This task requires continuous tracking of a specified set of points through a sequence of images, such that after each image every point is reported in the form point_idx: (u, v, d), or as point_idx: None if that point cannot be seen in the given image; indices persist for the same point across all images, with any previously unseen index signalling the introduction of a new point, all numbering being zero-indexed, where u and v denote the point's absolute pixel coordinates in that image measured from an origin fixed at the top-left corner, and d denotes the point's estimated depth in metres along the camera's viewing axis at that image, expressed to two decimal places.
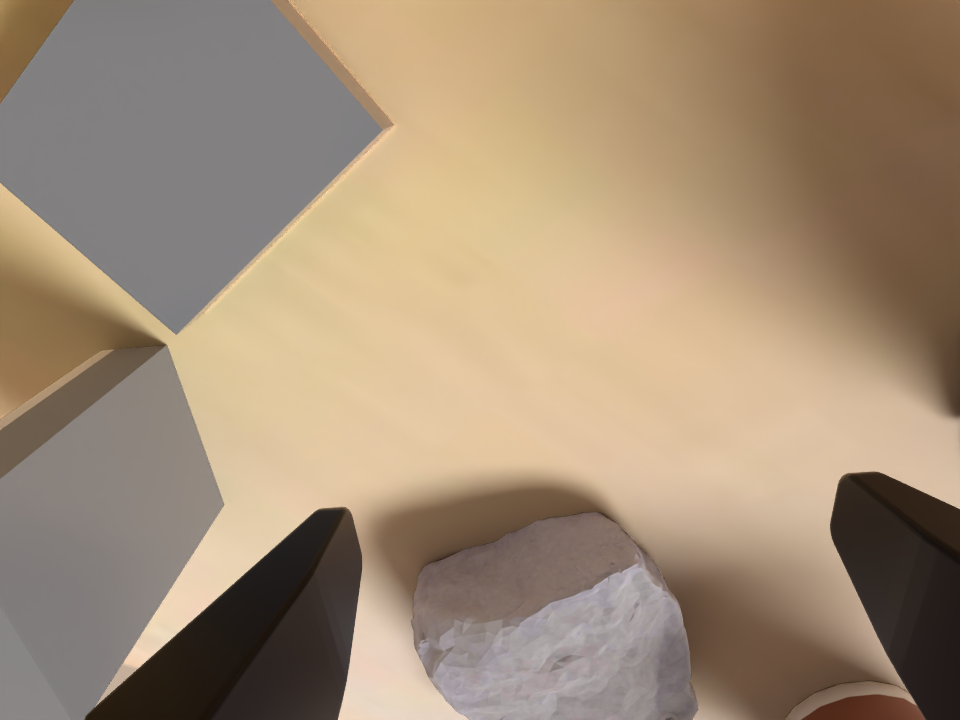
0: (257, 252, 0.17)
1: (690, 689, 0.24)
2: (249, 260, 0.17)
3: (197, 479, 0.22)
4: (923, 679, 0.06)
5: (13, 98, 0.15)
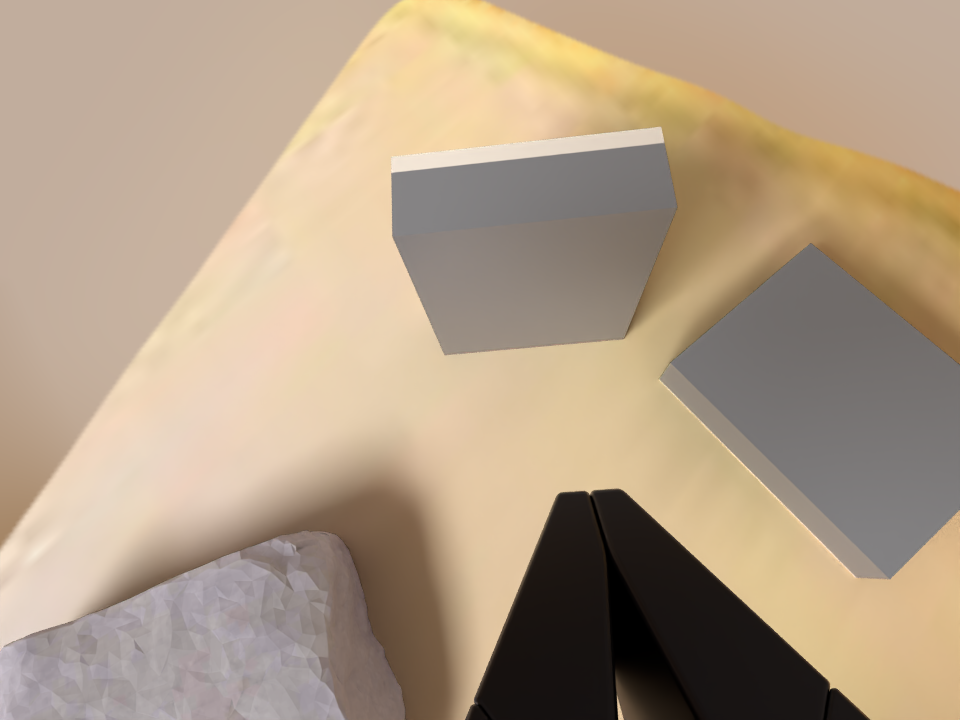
0: (759, 449, 0.19)
1: None
2: (750, 440, 0.19)
3: (493, 341, 0.22)
4: (622, 693, 0.06)
5: (858, 287, 0.20)
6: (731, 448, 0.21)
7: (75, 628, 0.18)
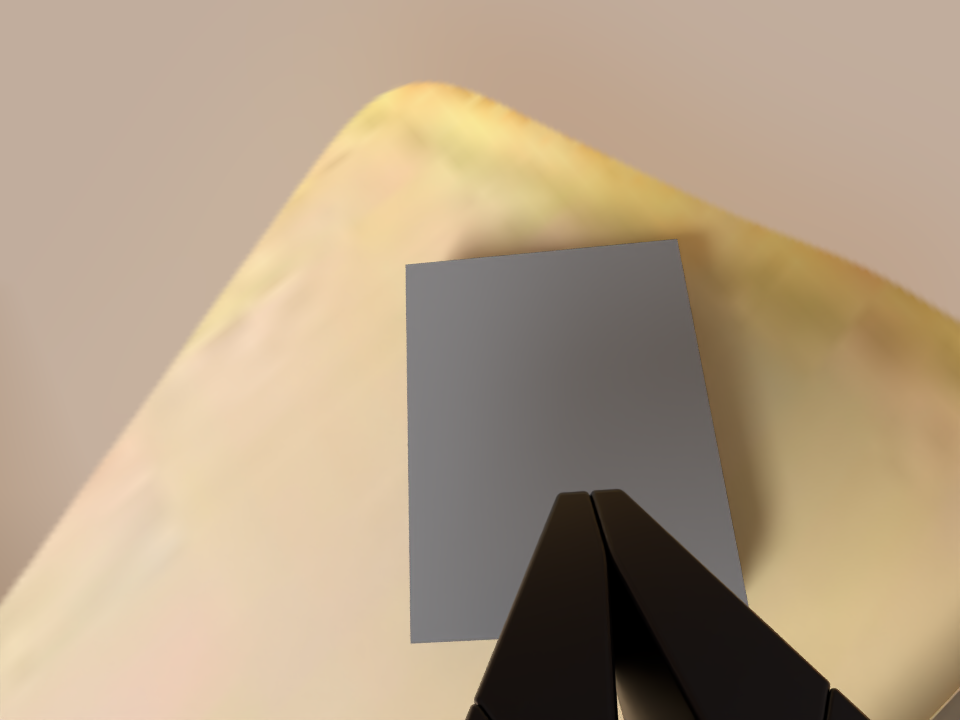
0: None
1: None
2: None
3: (502, 587, 0.12)
4: (623, 693, 0.06)
5: None
6: None
7: None
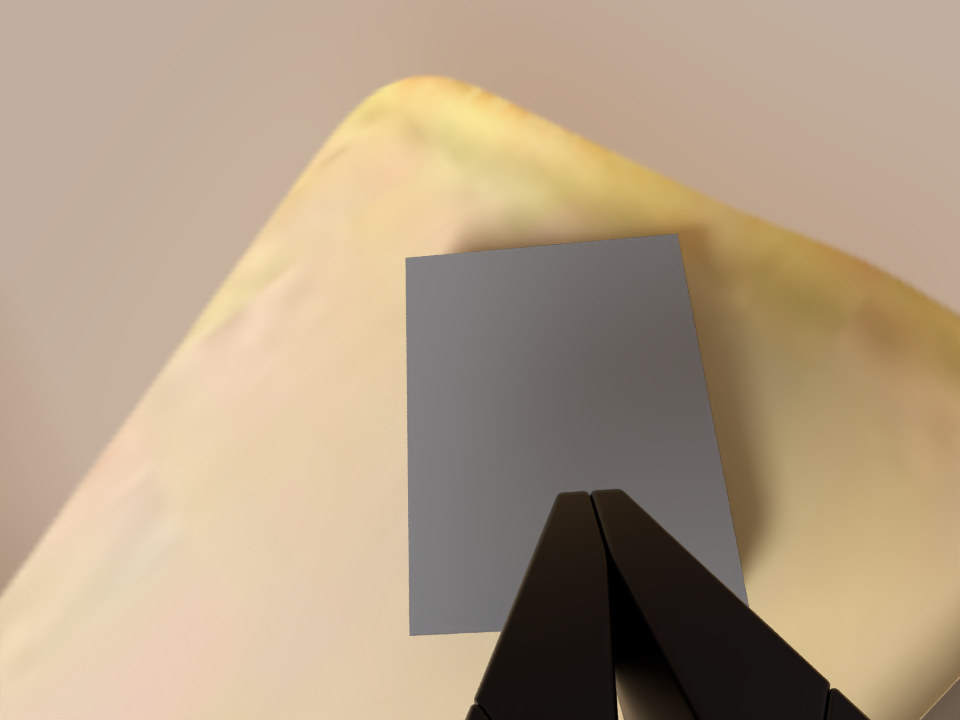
0: None
1: None
2: None
3: (501, 579, 0.12)
4: (622, 693, 0.06)
5: None
6: None
7: None
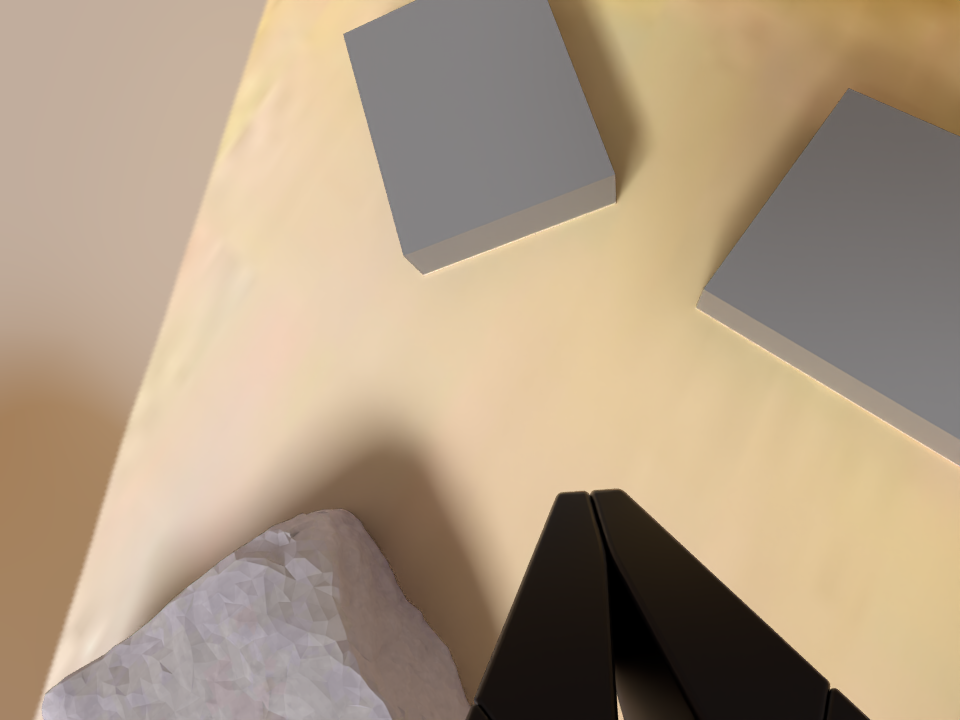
0: (838, 367, 0.15)
1: None
2: (825, 359, 0.15)
3: (452, 206, 0.19)
4: (623, 693, 0.06)
5: (924, 128, 0.16)
6: (802, 369, 0.17)
7: (106, 662, 0.18)
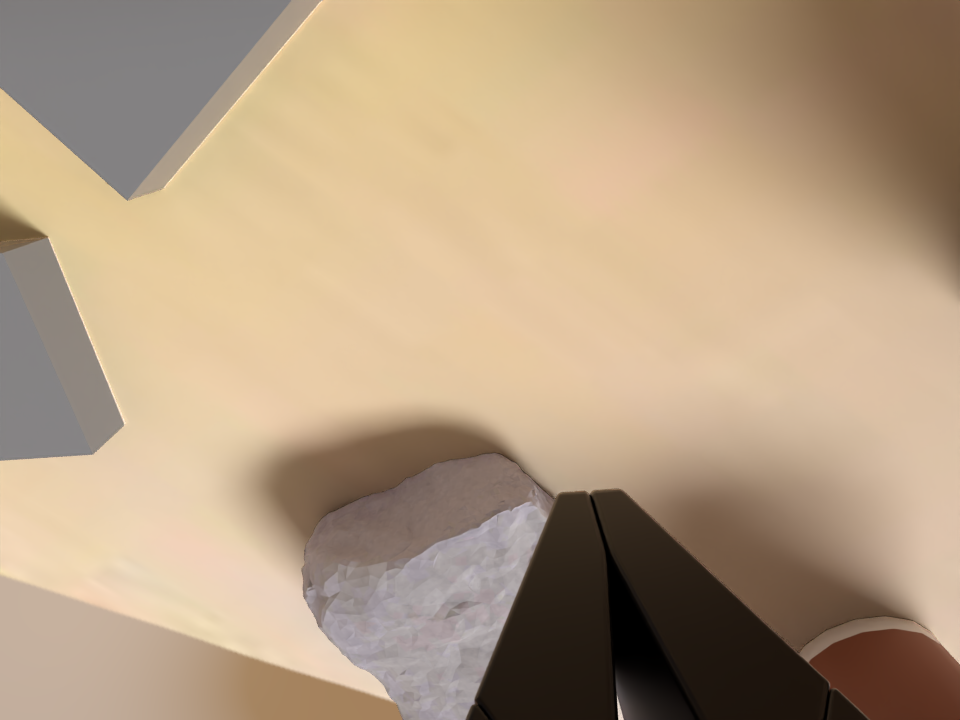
0: (211, 94, 0.15)
1: None
2: (203, 105, 0.15)
3: (40, 405, 0.19)
4: (622, 693, 0.06)
5: None
6: (229, 106, 0.17)
7: (399, 703, 0.24)
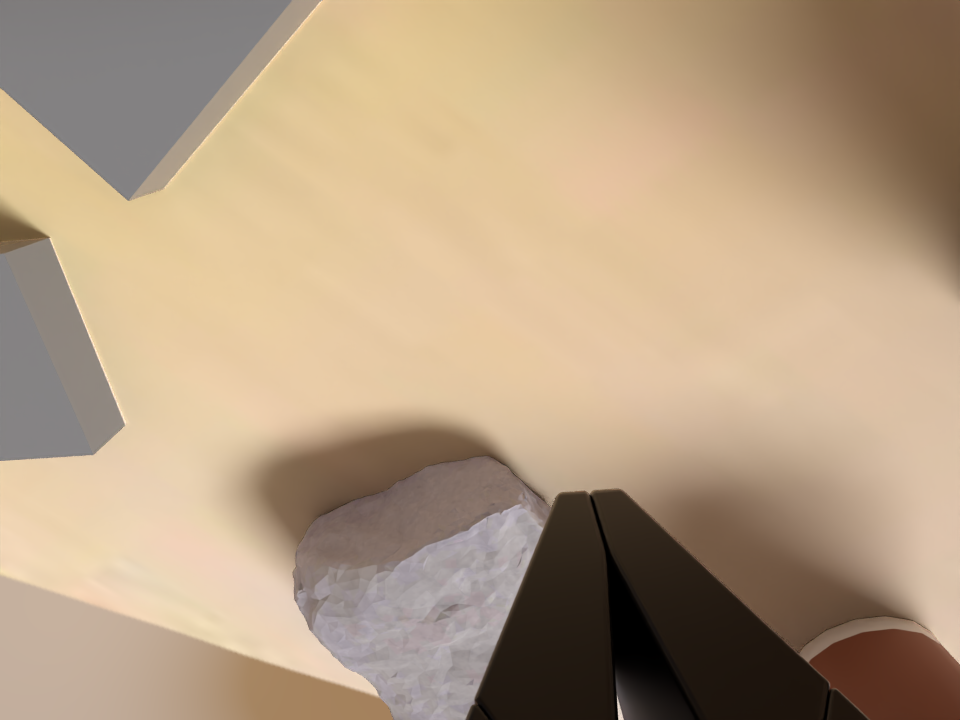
0: (212, 95, 0.15)
1: None
2: (204, 105, 0.15)
3: (41, 405, 0.19)
4: (622, 693, 0.06)
5: None
6: (229, 106, 0.17)
7: (391, 706, 0.24)
